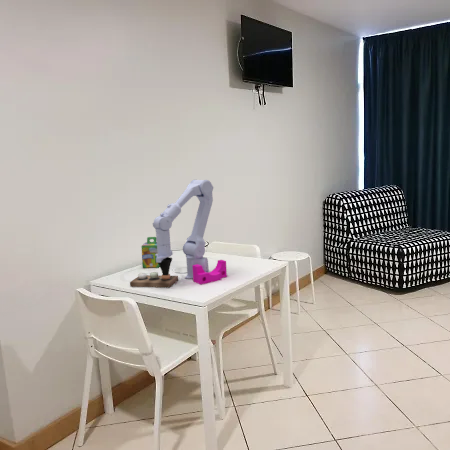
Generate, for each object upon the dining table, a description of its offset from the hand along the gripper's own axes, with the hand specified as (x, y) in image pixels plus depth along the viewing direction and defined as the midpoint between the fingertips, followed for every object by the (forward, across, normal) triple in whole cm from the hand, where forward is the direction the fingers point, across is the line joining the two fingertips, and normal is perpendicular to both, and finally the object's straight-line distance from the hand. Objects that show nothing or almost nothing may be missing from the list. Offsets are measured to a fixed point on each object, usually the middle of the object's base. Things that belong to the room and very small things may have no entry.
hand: (165, 274), depth 192 cm
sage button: (+1, 0, -6) cm, 6 cm away
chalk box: (+4, -30, -18) cm, 35 cm away
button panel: (+4, 0, -6) cm, 7 cm away
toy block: (+4, -7, +18) cm, 20 cm away
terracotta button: (+2, 0, 0) cm, 2 cm away
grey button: (+1, 0, -11) cm, 11 cm away
